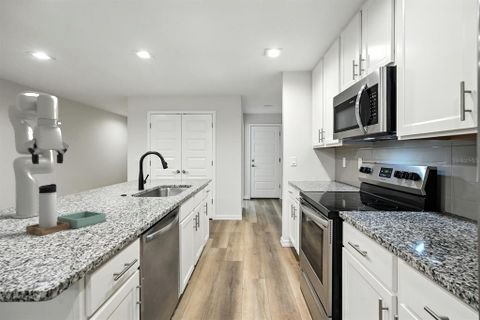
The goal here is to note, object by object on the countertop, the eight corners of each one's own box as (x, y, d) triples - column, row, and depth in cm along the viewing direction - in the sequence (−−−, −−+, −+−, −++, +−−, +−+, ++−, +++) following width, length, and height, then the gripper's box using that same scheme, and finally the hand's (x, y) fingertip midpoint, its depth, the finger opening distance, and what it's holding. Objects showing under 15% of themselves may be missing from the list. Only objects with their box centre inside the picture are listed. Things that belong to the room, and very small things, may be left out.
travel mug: (60, 228, 117) (60, 184, 117) (48, 232, 110) (48, 185, 110) (48, 228, 118) (47, 183, 117) (35, 232, 111) (34, 185, 111)
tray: (57, 225, 122) (57, 216, 122) (86, 218, 135) (86, 210, 135) (77, 229, 116) (77, 220, 116) (105, 221, 130) (105, 213, 129)
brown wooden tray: (26, 232, 111) (26, 226, 111) (54, 225, 121) (53, 220, 121) (41, 235, 107) (41, 229, 107) (69, 228, 117) (69, 223, 117)
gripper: (62, 126, 122) (63, 163, 123) (19, 122, 107) (19, 164, 107) (73, 125, 119) (73, 163, 120) (30, 121, 103) (30, 164, 104)
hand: (48, 163), depth 113 cm, fingers open, 9 cm apart
